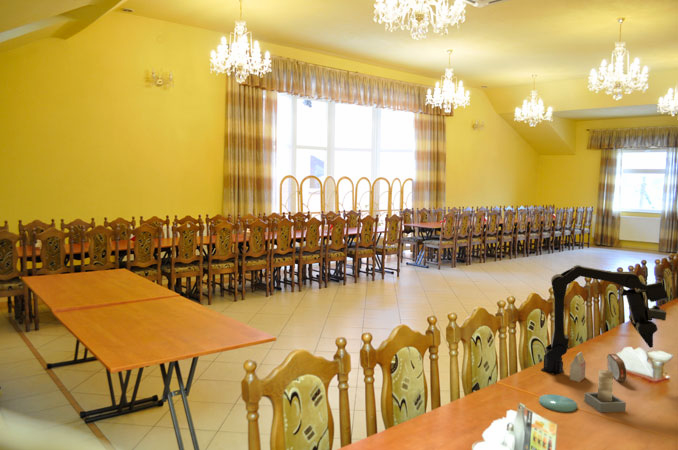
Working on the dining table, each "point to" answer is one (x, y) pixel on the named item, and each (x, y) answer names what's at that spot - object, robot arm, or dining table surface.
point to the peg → (605, 386)
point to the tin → (616, 367)
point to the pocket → (605, 403)
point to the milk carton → (577, 368)
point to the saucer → (558, 403)
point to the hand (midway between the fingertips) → (648, 343)
